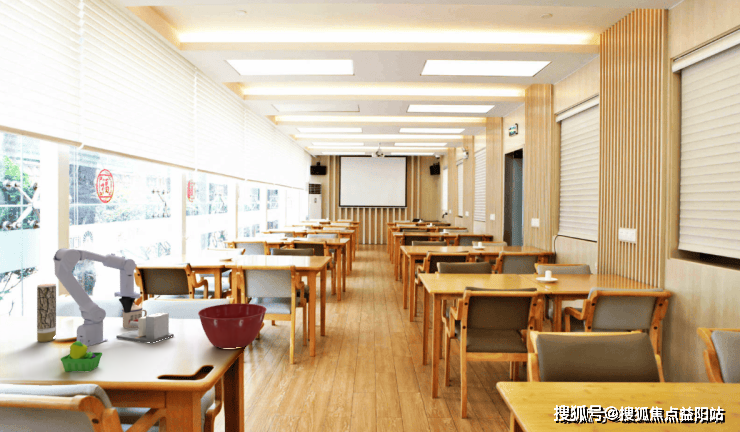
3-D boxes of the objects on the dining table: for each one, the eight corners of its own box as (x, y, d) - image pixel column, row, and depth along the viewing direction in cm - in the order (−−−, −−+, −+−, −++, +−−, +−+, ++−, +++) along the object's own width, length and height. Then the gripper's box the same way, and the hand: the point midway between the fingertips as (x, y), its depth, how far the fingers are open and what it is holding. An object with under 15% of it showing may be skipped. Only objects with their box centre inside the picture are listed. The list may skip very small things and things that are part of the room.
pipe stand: (154, 339, 191) (154, 317, 191) (123, 335, 197) (123, 313, 197) (168, 334, 198) (168, 313, 198) (138, 330, 205) (138, 309, 205)
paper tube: (45, 343, 189) (45, 286, 189) (33, 342, 190) (33, 285, 190) (59, 338, 195) (59, 284, 195) (47, 337, 197) (47, 283, 197)
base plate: (152, 343, 188) (152, 340, 188) (116, 338, 196) (116, 335, 196) (173, 336, 200) (173, 333, 200) (139, 331, 208) (139, 329, 208)
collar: (142, 336, 194) (142, 318, 194) (138, 335, 195) (138, 318, 195) (155, 332, 200) (155, 315, 200) (151, 331, 201) (151, 314, 201)
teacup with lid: (128, 329, 212) (128, 305, 212) (118, 326, 217) (118, 303, 217) (151, 324, 222) (151, 301, 222) (141, 321, 227) (141, 299, 227)
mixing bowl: (278, 346, 186) (278, 310, 186) (213, 360, 167) (213, 321, 167) (249, 332, 207) (249, 300, 207) (188, 344, 188) (188, 309, 188)
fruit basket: (103, 365, 161) (103, 335, 161) (89, 374, 153) (89, 342, 153) (72, 365, 161) (73, 335, 161) (56, 374, 152) (56, 342, 152)
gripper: (145, 283, 203) (146, 311, 204) (123, 281, 209) (124, 309, 209) (132, 286, 197) (133, 315, 197) (110, 284, 202) (110, 312, 202)
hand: (127, 312), depth 203 cm, fingers closed
